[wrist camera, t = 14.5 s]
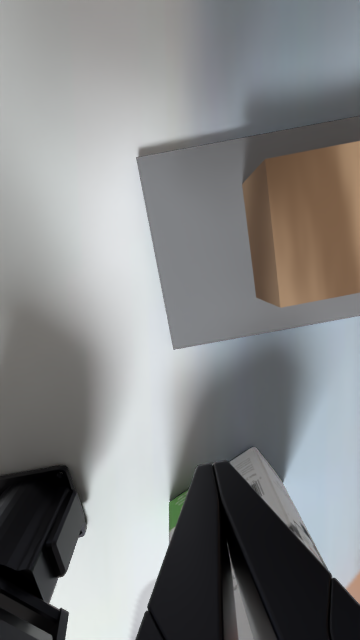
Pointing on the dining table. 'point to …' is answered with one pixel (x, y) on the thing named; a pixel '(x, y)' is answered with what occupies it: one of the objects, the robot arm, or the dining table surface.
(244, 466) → the ink box
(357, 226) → the cream panel wooden box
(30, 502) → the robot arm
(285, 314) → the rubber mat
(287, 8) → the dining table surface
